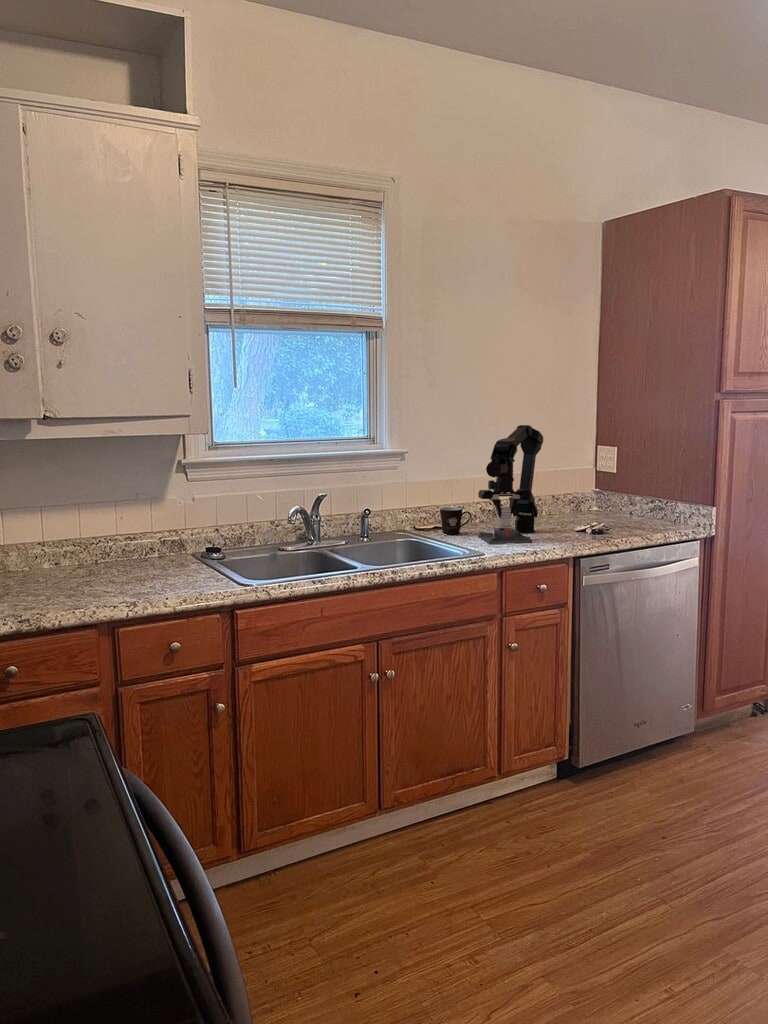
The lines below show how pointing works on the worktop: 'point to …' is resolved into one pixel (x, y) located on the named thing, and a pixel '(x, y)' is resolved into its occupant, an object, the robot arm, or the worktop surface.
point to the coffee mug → (452, 520)
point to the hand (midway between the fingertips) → (504, 517)
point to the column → (505, 517)
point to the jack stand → (504, 536)
